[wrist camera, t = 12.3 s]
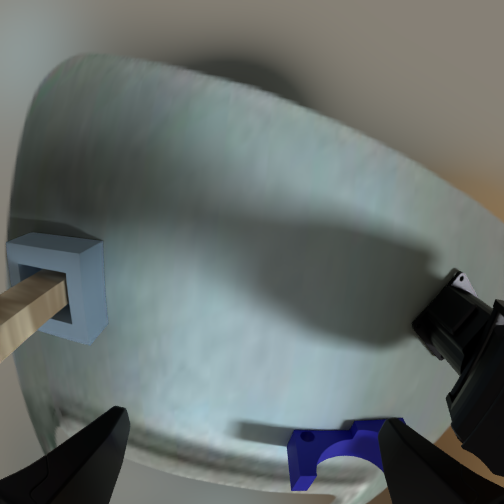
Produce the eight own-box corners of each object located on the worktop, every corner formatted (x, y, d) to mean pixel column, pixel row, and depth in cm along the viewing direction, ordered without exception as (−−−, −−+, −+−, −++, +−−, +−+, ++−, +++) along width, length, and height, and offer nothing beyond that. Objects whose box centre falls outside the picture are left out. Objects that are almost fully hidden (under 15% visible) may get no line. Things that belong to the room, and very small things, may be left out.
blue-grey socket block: (103, 240, 20) (79, 253, 17) (108, 323, 22) (89, 345, 19) (31, 232, 20) (5, 242, 17) (40, 306, 22) (19, 323, 18)
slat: (77, 271, 20) (-40, 358, 8) (79, 294, 21) (-26, 389, 8) (49, 265, 20) (-65, 339, 8) (51, 287, 21) (-53, 369, 8)
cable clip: (402, 416, 25) (421, 455, 20) (385, 442, 27) (400, 479, 21) (297, 419, 25) (305, 467, 19) (286, 445, 26) (291, 490, 20)
